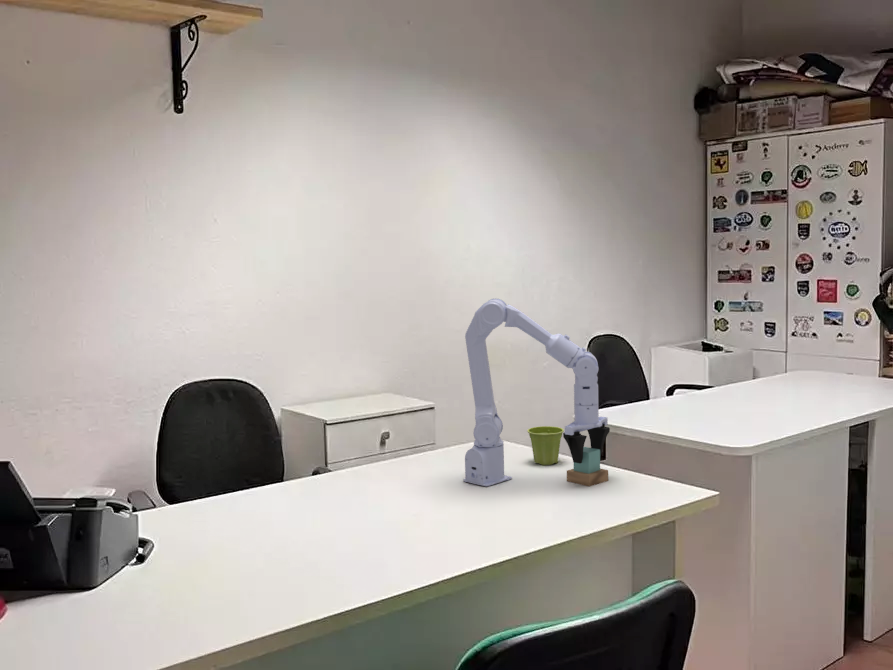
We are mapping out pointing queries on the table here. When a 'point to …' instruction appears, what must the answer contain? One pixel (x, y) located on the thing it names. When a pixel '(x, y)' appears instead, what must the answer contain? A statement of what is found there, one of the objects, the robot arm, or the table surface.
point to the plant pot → (545, 443)
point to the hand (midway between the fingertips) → (587, 459)
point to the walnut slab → (587, 477)
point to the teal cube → (589, 461)
